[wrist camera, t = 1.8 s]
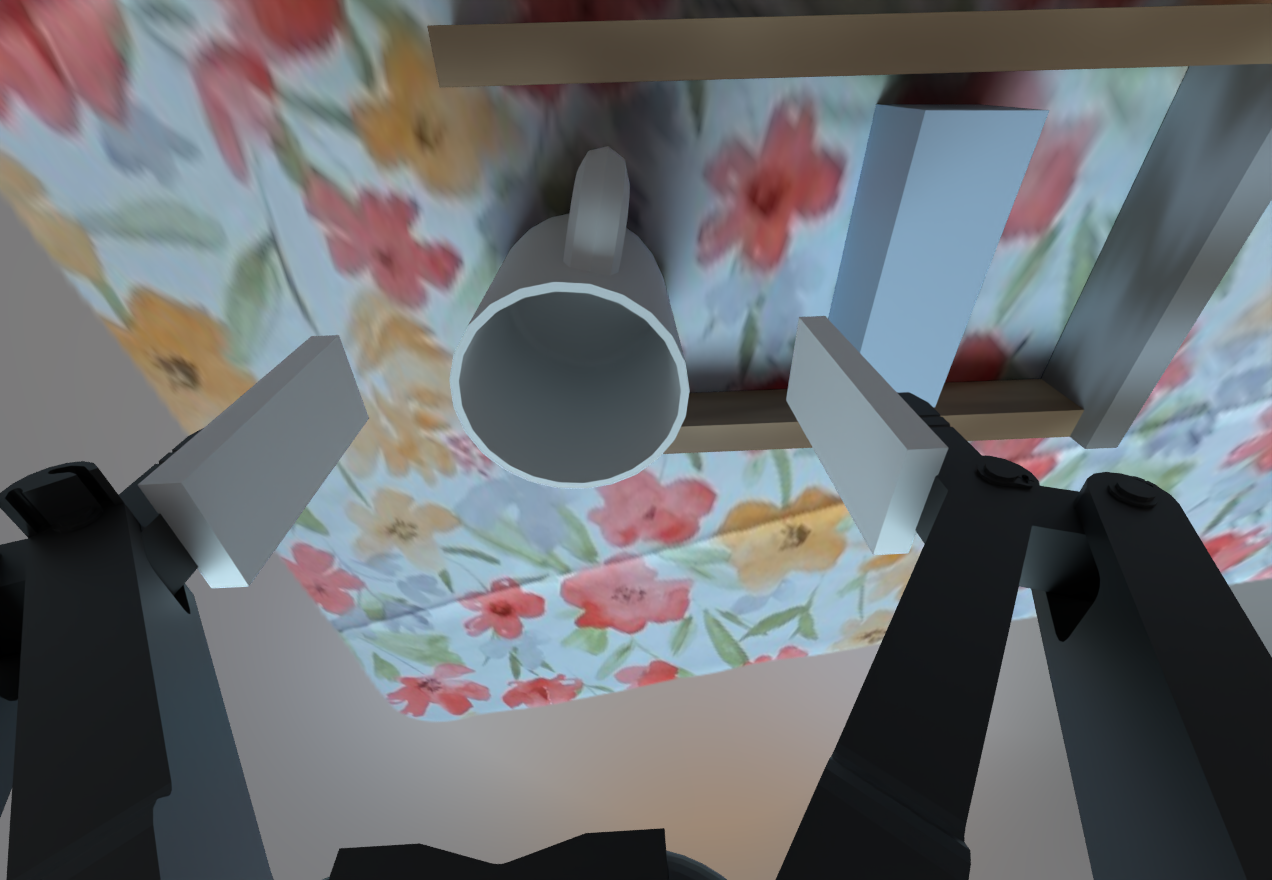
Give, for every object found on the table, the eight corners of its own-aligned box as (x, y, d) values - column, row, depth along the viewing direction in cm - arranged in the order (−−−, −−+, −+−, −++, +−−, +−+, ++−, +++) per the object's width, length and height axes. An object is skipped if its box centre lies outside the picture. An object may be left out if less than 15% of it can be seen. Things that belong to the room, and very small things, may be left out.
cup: (496, 355, 25) (448, 474, 18) (510, 111, 19) (450, 135, 12) (645, 379, 26) (660, 501, 19) (700, 154, 20) (751, 202, 13)
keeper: (873, 104, 20) (925, 110, 17) (977, 104, 20) (1049, 110, 17) (815, 366, 26) (844, 408, 23) (894, 365, 26) (935, 407, 23)
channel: (452, 31, 18) (417, 22, 15) (1257, 10, 18) (1397, -3, 15) (522, 425, 27) (510, 473, 24) (1057, 402, 28) (1116, 447, 24)
